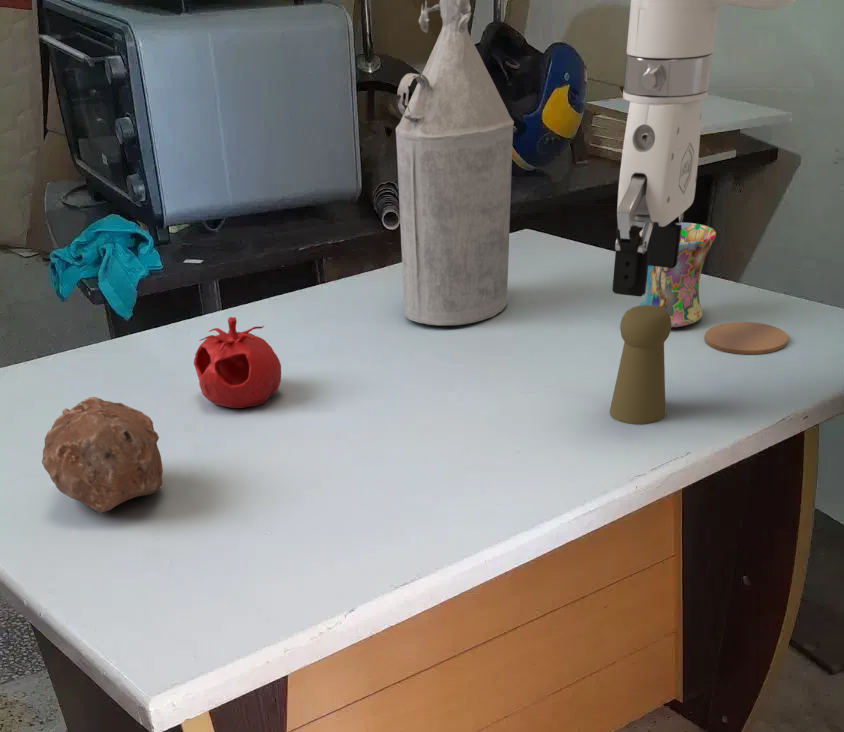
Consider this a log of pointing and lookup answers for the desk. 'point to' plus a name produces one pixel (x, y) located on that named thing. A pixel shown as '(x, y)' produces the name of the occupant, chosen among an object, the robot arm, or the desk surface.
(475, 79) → the canister
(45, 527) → the desk surface
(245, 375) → the hollow red tomato
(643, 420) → the pepper shaker
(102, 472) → the decorative rock
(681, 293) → the mug
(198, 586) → the desk surface
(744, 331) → the coaster
